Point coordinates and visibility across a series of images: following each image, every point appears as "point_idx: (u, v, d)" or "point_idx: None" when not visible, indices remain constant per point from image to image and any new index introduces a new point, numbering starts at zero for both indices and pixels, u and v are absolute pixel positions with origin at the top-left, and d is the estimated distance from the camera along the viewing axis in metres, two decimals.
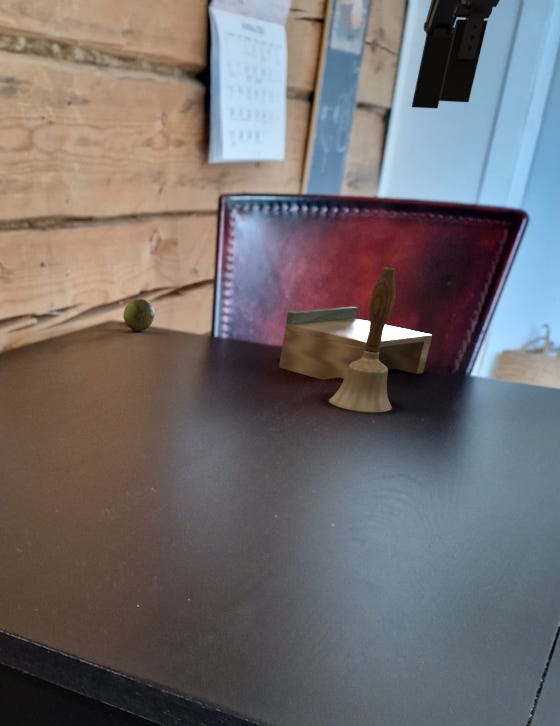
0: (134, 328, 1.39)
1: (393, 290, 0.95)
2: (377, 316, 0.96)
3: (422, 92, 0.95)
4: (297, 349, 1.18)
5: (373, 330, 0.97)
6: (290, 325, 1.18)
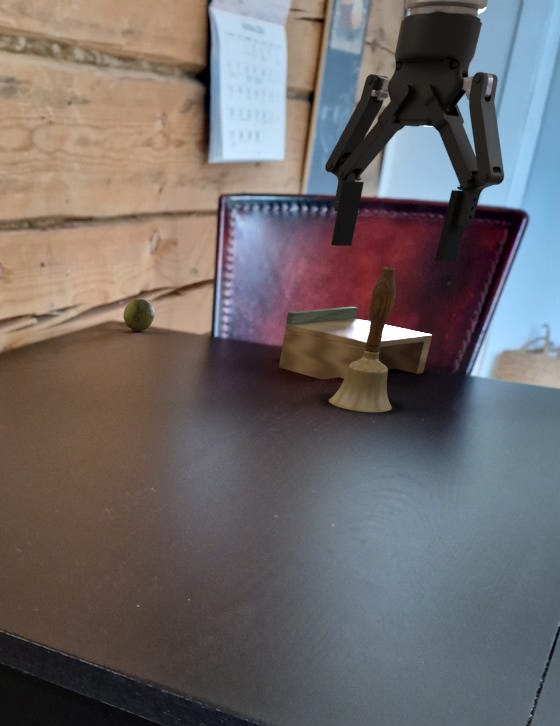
0: (134, 328, 1.39)
1: (393, 290, 0.95)
2: (377, 316, 0.96)
3: (342, 232, 0.97)
4: (297, 349, 1.18)
5: (373, 330, 0.97)
6: (290, 325, 1.18)
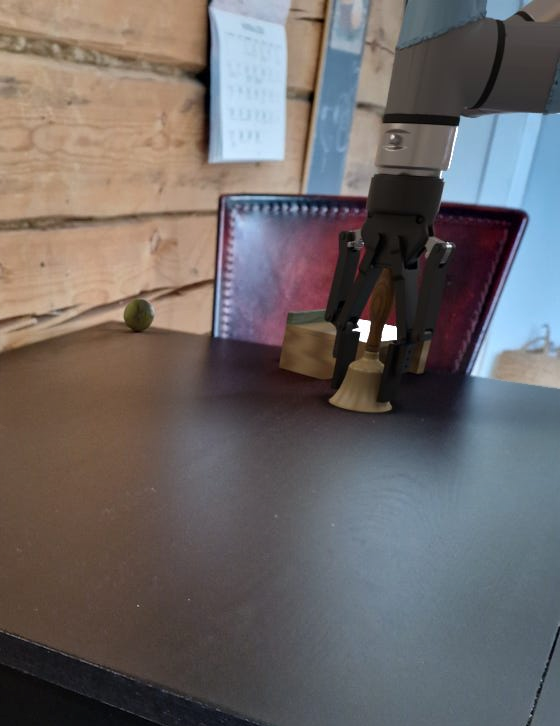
0: (134, 328, 1.39)
1: (393, 290, 0.95)
2: (377, 316, 0.96)
3: (341, 377, 1.03)
4: (297, 349, 1.18)
5: (373, 330, 0.97)
6: (290, 325, 1.18)
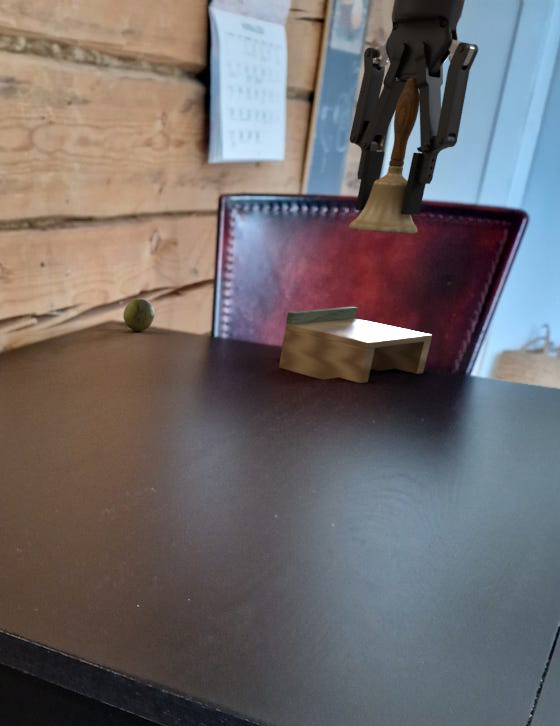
0: (134, 328, 1.39)
1: (417, 100, 1.00)
2: (401, 128, 1.01)
3: (366, 197, 1.07)
4: (297, 349, 1.18)
5: (397, 143, 1.02)
6: (290, 325, 1.18)
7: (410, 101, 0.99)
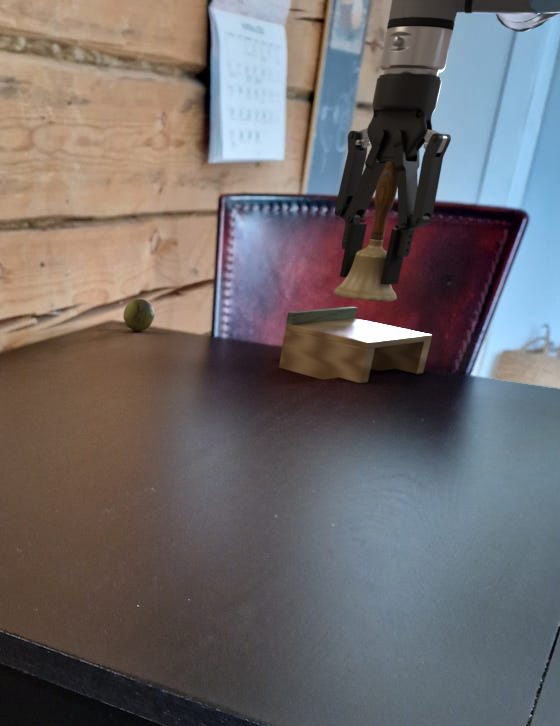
0: (134, 328, 1.39)
1: (395, 181, 1.08)
2: (381, 205, 1.09)
3: (349, 266, 1.16)
4: (297, 349, 1.18)
5: (378, 219, 1.10)
6: (290, 325, 1.18)
7: (389, 182, 1.08)
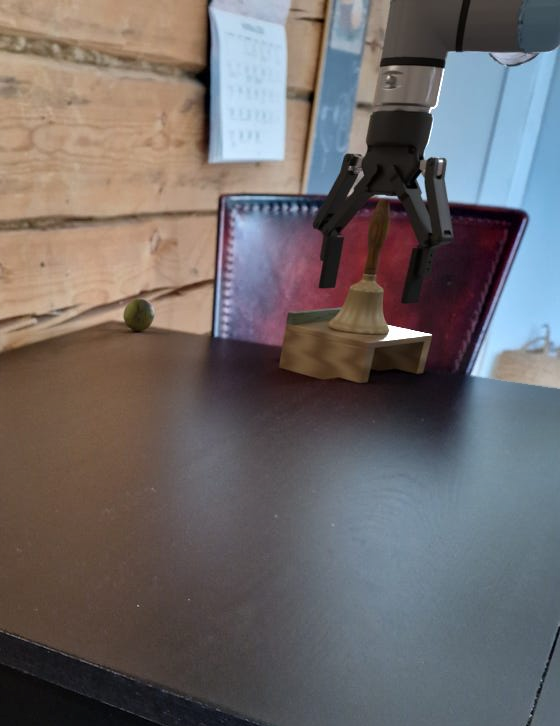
0: (134, 328, 1.39)
1: (388, 218, 1.10)
2: (374, 242, 1.11)
3: (327, 277, 1.19)
4: (297, 349, 1.18)
5: (371, 255, 1.12)
6: (290, 325, 1.18)
7: (382, 219, 1.10)
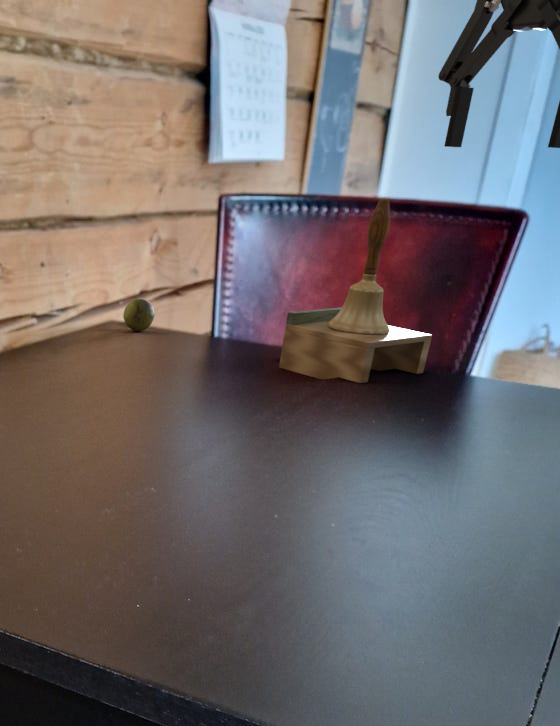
0: (134, 328, 1.39)
1: (388, 218, 1.10)
2: (374, 242, 1.11)
3: (455, 134, 1.10)
4: (297, 349, 1.18)
5: (371, 255, 1.12)
6: (290, 325, 1.18)
7: (382, 219, 1.10)
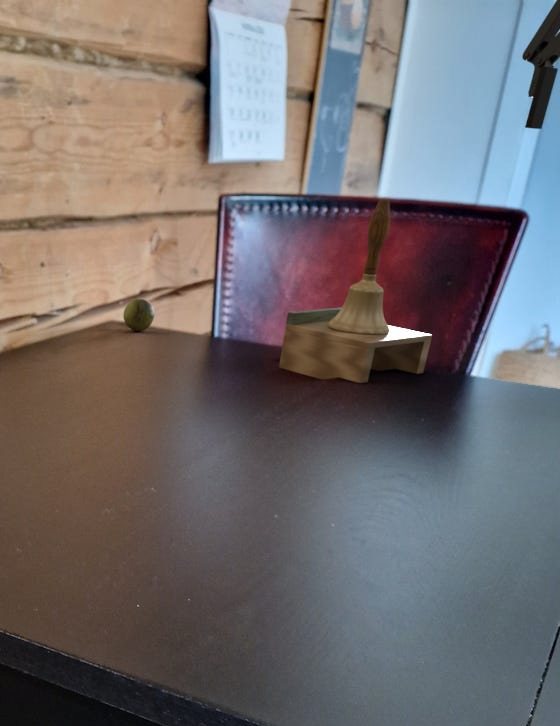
0: (134, 328, 1.39)
1: (388, 218, 1.10)
2: (374, 242, 1.11)
3: (536, 115, 1.09)
4: (297, 349, 1.18)
5: (371, 255, 1.12)
6: (290, 325, 1.18)
7: (382, 219, 1.10)
